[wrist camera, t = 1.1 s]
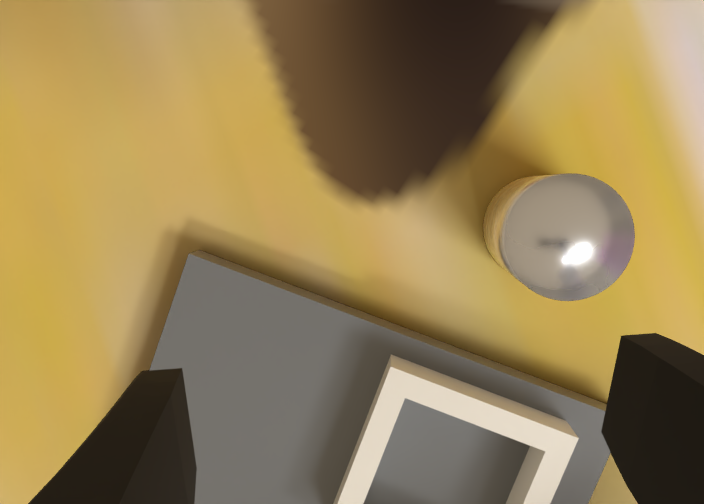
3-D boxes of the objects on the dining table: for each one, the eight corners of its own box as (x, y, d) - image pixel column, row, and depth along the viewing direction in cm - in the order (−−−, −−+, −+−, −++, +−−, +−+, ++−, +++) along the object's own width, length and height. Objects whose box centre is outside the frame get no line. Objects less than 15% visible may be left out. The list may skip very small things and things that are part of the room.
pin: (603, 197, 22) (655, 200, 18) (563, 292, 23) (604, 319, 18) (505, 161, 22) (532, 155, 18) (467, 256, 23) (485, 274, 18)
